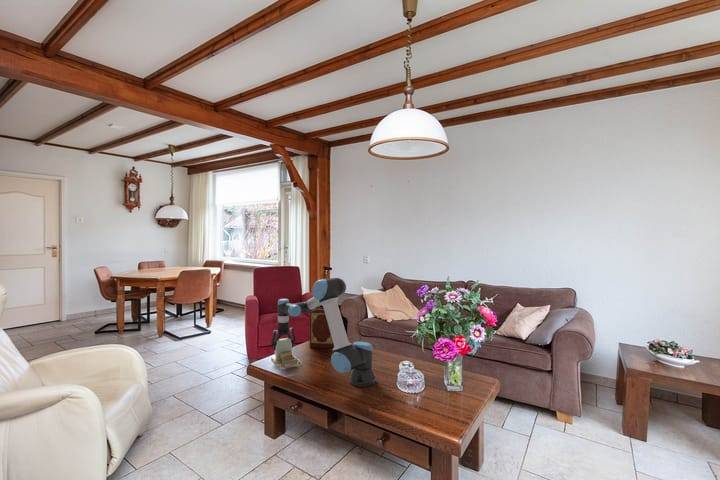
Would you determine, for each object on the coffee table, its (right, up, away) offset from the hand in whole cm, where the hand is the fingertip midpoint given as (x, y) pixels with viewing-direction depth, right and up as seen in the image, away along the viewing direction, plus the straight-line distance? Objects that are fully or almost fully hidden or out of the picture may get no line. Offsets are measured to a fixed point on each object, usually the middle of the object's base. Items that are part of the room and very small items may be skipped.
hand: (283, 353), depth 234 cm
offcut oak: (+3, -1, -5) cm, 6 cm away
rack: (+3, -5, -5) cm, 8 cm away
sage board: (0, -4, 0) cm, 4 cm away
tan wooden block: (+3, -4, -5) cm, 8 cm away
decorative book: (+26, -5, +31) cm, 41 cm away
